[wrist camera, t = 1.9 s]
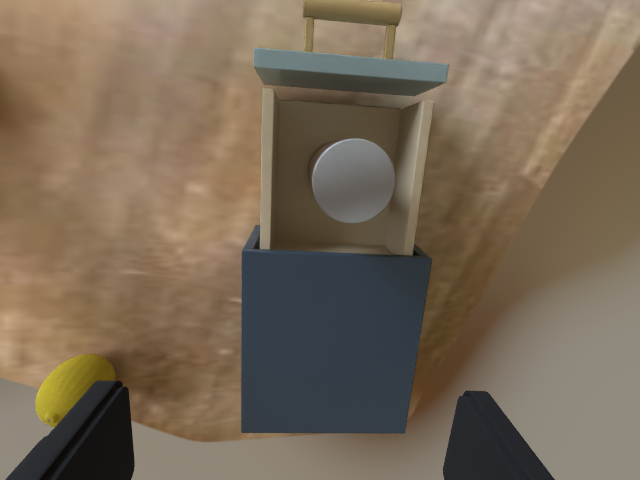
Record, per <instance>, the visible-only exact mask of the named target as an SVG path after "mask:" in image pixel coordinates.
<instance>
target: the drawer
mask: <svg viewBox="0 0 640 480" xmlns="http://www.w3.org/2000/svg"><path fill="white" fill-rule="evenodd" d="M401 14H402V5H401V4H397V3H387V2H376V1H366V0H304V1H303V18H306V20H305V42H304V52H300V51H288V50H276V49H264V48H254V68H255V70H256V72H257V73H258V75H259V77H260V79H261V80H262V82H263V84H264V85H276V86H288V87H301V88H314V89H327V90H340V91H353V92H366V93H379V94H392V95H405V96H416V95H419V94H421V93H423V92H426V91H428V90H430V89H433V88H435V87H437V86H440V85H442V84H444V83H446V80H447V73H448V67H449V64H441V63H429V62H417V61H405V60H394V59H393V50H394V41H395V32H396V27H397V26H398V25H399V22H400V19H401ZM314 19H318V20H329V21H340V22H351V23H362V24H373V25H383V26H387V27H386V37H385V47H384V57H383V59H382V58H370V57H358V56H347V55H335V54H323V53H312V48H313V28H314ZM433 106H434V102H433V101H422V102H419V103H416V104H414V105H411V106H408V107H405V108H403V109H399V108H385V107H372V106H358V105H345V104H331V103H318V102H305V101H291V100H279V99H278V97H277V95H276V92H275V90H274V89H267V88H263V92H262V150H261V207H260V249H268V250H291V251H314V252H338V253H361V254H385V255H408V256H413V248H414V241H415V234H416V227H417V220H418V213H419V206H420V198H421V191H422V184H423V177H424V170H425V163H426V156H427V149H428V141H429V134H430V127H431V120H432V113H433ZM345 139H364V140H368V141H370V142H373V143H374V144H376V145H378V146H379V147H381V148H382V149H383V150H384V151H385V152H386V154H387V155H388V156H389V158H390V160H391V161H392V164H393V166H394V170H395V176H396V183H395V189H394V193H393V196H392V198H391V200H390V202H389V204H388V205H387V206H386V208H385V209H384V210H383V211H382V212H381V213H380V214H378V215H377V216H376V217H374V218H372V219H370V220H368V221H365V222H361V223H344V222H340V221H337V220H335V219H333V218H331V217H330V216H328V215H327V214H326V213H325V212H324V211H323V210H322V209H321V208H320V206H319V205H318V203H317V201H316V199H315V196H314V193H313V190H312V187H311V183H310V180H309V176H308V164H309V161H310V158H311V156H312V154H313V153H314V152H315V150H316V149H317V148H319V147H320V146H321V145H323V144H325V143H328V142H331V141H338V140H345Z"/></svg>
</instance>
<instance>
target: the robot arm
mask: <svg viewBox="0 0 640 480" xmlns="http://www.w3.org/2000/svg"><path fill="white" fill-rule="evenodd" d="M133 471H134V452H133V438H132V427H131V413H130V401H129V390H128V388H127V387H123V384H122V382H121V381H107V380H98V381H96V382H95V383H93V384H92V386H91V387H90V388H89V389H88V390H87V391H86V392H85V394H84V395H83V396H82V397H81V398H80V399H79V400H78V402H77V403H76V404H75V405H74V406H73V407H72V408H71V410H70V411H69V412H68V413H67V414H66V415H65V416H64V418H63V419H62V420H61V421H60V422H59V423H58V424H57V426H56V427H55V428H54V429H53V430H52V431H51V432H50V434H49V435H48V436H46V437H44V438H43V439H42V440H41V441H40V442H39V443H38V444H37V445H36V446H35V447H34V448H33V449H32V450H31V451H30V453H29V454H28V455H27V456H26V457H25V458H24V459H23V461H22V462H21V463H20V464H19V465H18V466H17V467H16V468H15V470H14V471H13V472H12V473H11V474H10V475H9V476H8V477H7V479H6V480H131V478H132V475H133ZM443 475H444V480H555V479H554V478H553V477H552V476H551V474H550V473H549V472H548V470H547V469H546V468H545V466H544V465H543V464H542V462H541V461H540V460H539V459H538V457H537V456H536V455H535V453H534V452H533V451H532V449H531V448H530V447H529V445H528V444H527V443H526V441H525V440H524V439H523V437H522V436H521V435H520V434H519V432H518V431H517V430H516V428H515V427H514V426H513V425H512V423H511V422H510V420H509V419H508V418H507V416H506V415H505V414H504V413H503V411H502V410H501V409H500V407H499V406H498V405H497V403H496V402H495V401H494V399H493V398H492V397H491V395H490V394H489V393H488V392H485V391H465V392H464V394H463V396H460V397H459V398H458V401H457V406H456V411H455V415H454V420H453V425H452V429H451V434H450V438H449V443H448V448H447V452H446V457H445V462H444V466H443Z"/></svg>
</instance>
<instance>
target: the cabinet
mask: <svg viewBox="0 0 640 480" xmlns="http://www.w3.org/2000/svg"><path fill="white" fill-rule="evenodd" d="M431 263H432V259H431V258H430V257H429V256H428V255H427V254H426V253H424V252H423V251H422V250H421V249H420V248H419V247H417V246H416V245H415V244H414V248H413V256H408V255H385V254H361V253H338V252H314V251H291V250H268V249H260V226H258V225H256V226H255V228H254V230H253V232H252V234H251V235H250V237H249V239H248V241H247V243H246V245H245V246H244V248H243V250H242V371H241V432H242V433H405V428H406V423H407V417H408V410H409V404H410V397H411V391H412V385H413V378H414V372H415V366H416V359H417V353H418V346H419V340H420V334H421V327H422V321H423V314H424V308H425V302H426V295H427V289H428V282H429V276H430V270H431Z"/></svg>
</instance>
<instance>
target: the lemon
mask: <svg viewBox="0 0 640 480" xmlns="http://www.w3.org/2000/svg"><path fill="white" fill-rule="evenodd" d="M98 380H107V381H115V370H114V367H113V366H112V364H111V363H110V362H109V361H108V360H107V359H106V358H104V357H102V356H100V355H96V354H83V355H79V356H75V357H73V358H70V359H69V360H67V361H65V362H64V363H62V364H60V365H59V366H58V367H57V368H55V369H54V370H53V372H52V373H51V374H50V375H49V376H48V377H47V378H46V379H45V381H44V382H43V384H42V385H41V387H40V389H39V391H38V394H37V396H36V403H35V407H36V412H37V414H38V416H39V418H40V419H41V420H42V421H43V422H44V423H46V424H47V425H49V426H53V427H56V426H57V424H58V423H59V422H60V421H61V420H62V419H63V418H64V416H65V415H66V414H67V413H68V412H69V411H70V410H71V408H72V407H73V406H74V405H75V404H76V403H77V402H78V400H79V399H80V398H81V397H82V396H83V395H84V394H85V392H86V391H87V390H88V389H89V388H90V387H91V386H92V384H93V383H95V382H96V381H98Z"/></svg>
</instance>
